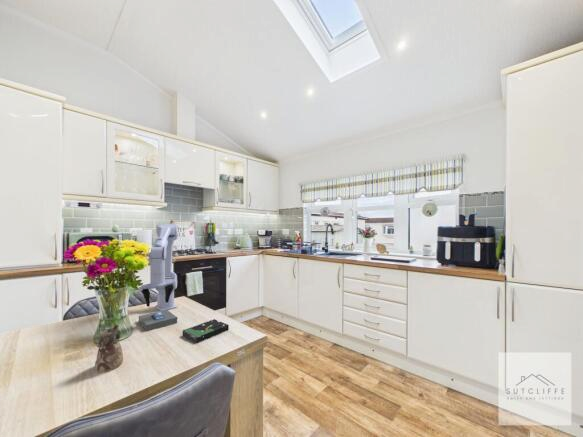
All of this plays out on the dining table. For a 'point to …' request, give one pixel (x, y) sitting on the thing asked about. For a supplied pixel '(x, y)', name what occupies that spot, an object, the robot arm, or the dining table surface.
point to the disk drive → (205, 330)
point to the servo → (157, 316)
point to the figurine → (109, 351)
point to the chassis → (152, 324)
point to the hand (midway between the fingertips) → (157, 304)
